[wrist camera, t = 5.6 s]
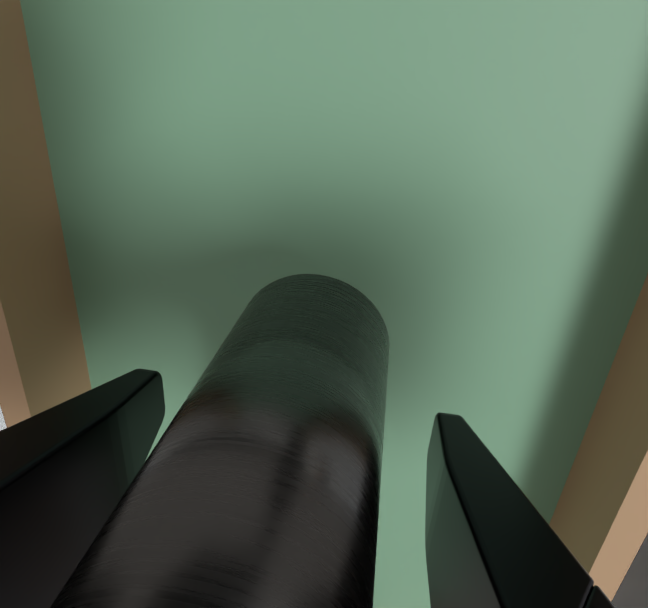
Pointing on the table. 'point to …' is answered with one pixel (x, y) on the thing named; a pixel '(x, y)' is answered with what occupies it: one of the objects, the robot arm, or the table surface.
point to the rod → (260, 469)
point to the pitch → (349, 223)
